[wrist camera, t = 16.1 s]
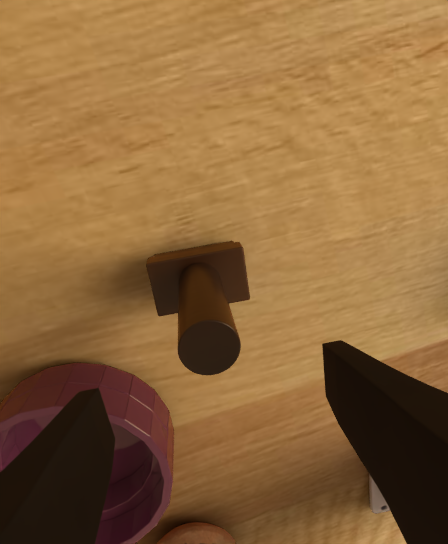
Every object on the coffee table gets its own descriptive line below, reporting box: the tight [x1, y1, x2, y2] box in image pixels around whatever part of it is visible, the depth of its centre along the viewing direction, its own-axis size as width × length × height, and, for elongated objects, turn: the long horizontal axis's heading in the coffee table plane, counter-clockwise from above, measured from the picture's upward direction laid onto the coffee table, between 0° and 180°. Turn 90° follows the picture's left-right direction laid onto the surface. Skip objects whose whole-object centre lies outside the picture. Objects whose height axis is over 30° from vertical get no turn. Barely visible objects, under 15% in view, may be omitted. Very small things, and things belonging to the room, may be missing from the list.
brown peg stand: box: [146, 241, 250, 375], centre depth 17 cm, size 5×3×9 cm, turn 99°
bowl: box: [0, 363, 174, 544], centre depth 22 cm, size 11×11×4 cm
